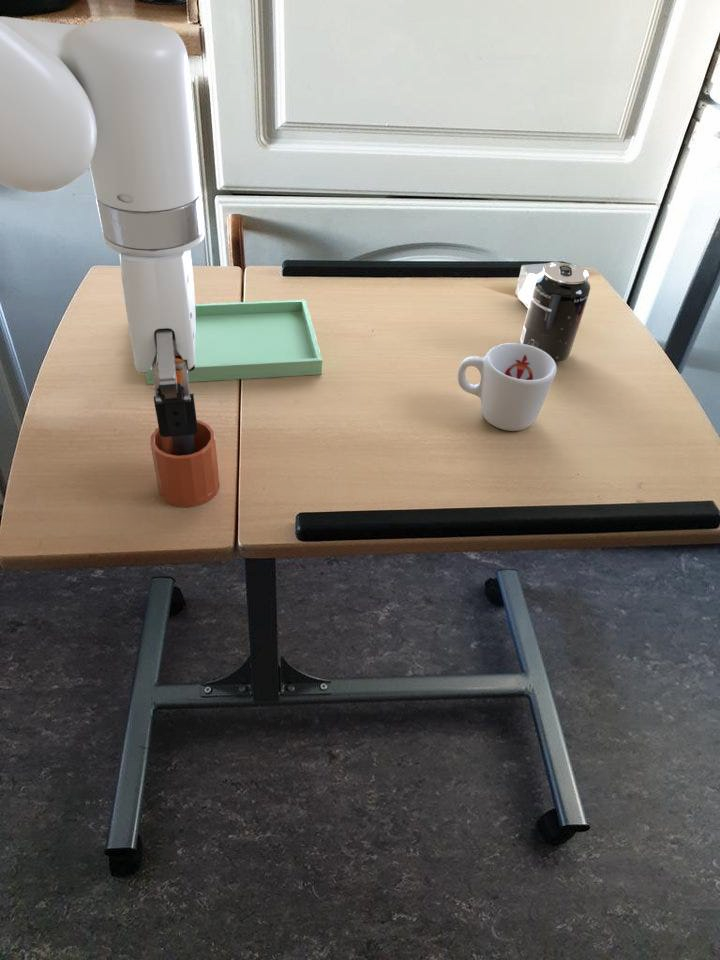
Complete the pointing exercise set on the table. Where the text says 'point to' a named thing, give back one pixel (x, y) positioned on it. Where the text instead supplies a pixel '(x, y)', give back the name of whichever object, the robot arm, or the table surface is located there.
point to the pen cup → (186, 468)
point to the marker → (185, 442)
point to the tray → (253, 341)
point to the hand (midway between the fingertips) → (178, 400)
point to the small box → (527, 281)
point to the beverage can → (556, 309)
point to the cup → (510, 383)
